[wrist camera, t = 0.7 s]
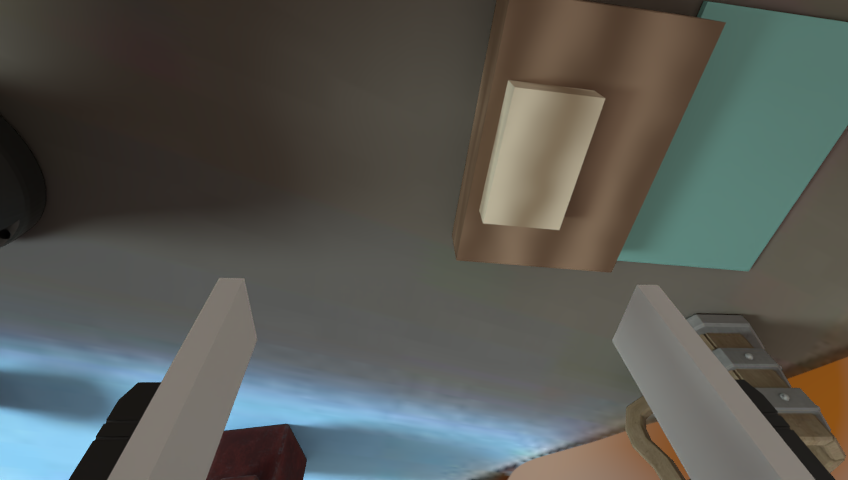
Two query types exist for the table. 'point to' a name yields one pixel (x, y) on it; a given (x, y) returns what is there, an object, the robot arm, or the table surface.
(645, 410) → the tankard
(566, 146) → the tile
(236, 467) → the toy vending machine
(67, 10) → the table surface
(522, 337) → the table surface
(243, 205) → the table surface
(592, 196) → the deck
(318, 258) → the table surface
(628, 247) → the mat
